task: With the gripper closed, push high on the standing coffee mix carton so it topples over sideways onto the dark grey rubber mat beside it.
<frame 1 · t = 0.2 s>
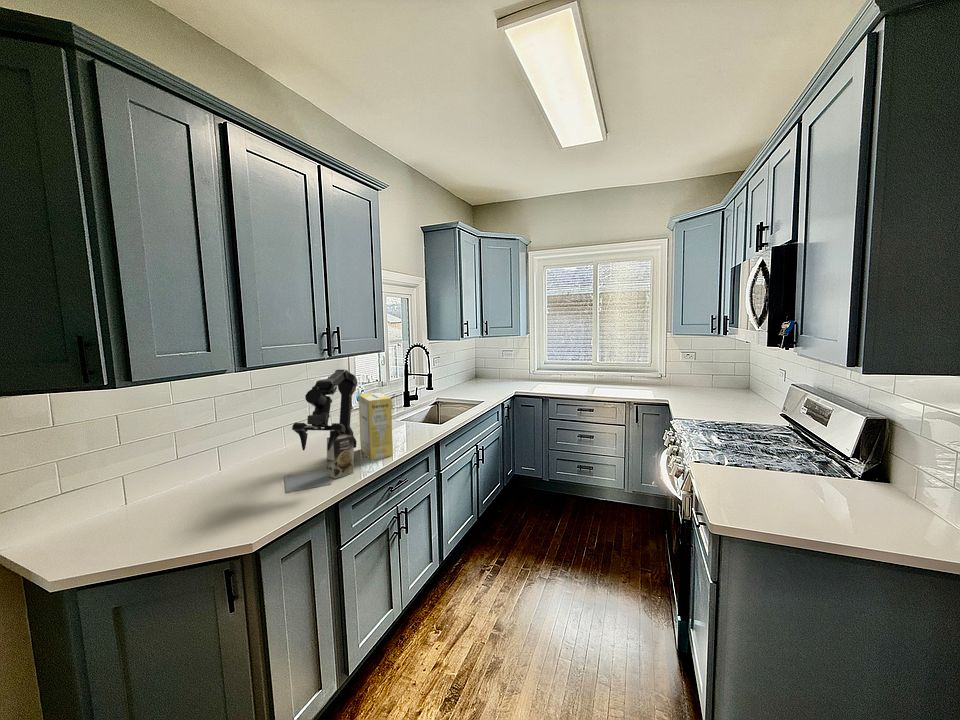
hand: (315, 450, 152), 15 cm above the worktop, tool tilted 30°, fingers open, 9 cm apart
coffee box: (340, 474, 168), on the worktop, touching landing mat
pasta box: (376, 452, 196), on the worktop
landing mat: (307, 480, 162), on the worktop
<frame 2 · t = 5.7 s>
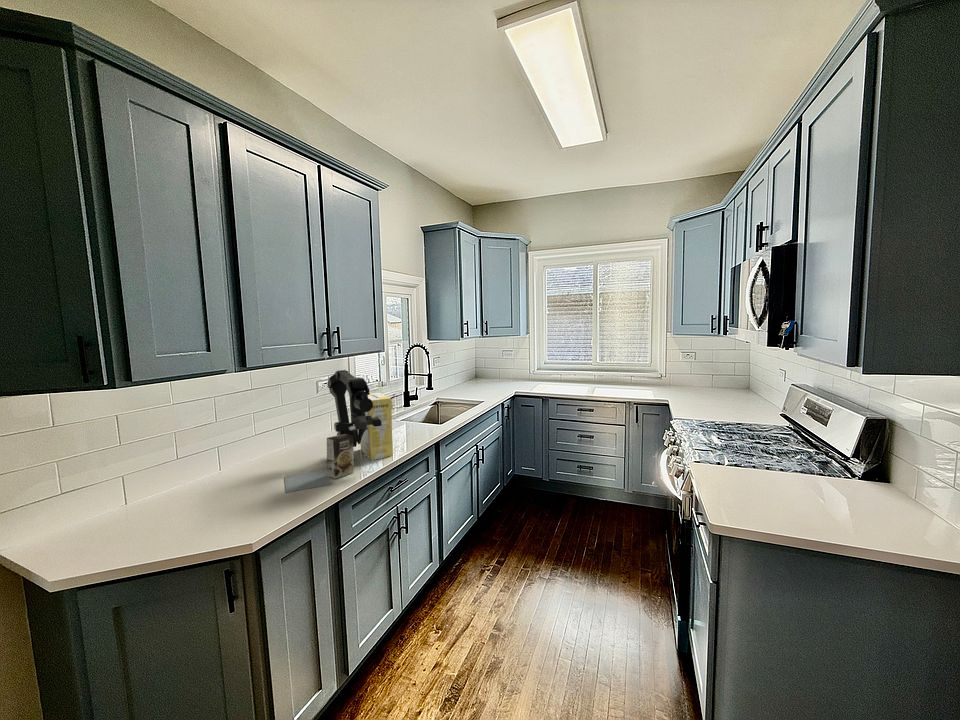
hand: (358, 443, 170), 12 cm above the worktop, tool pointing down, fingers closed
coffee box: (340, 474, 168), on the worktop, touching gripper, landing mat
everything else where it was.
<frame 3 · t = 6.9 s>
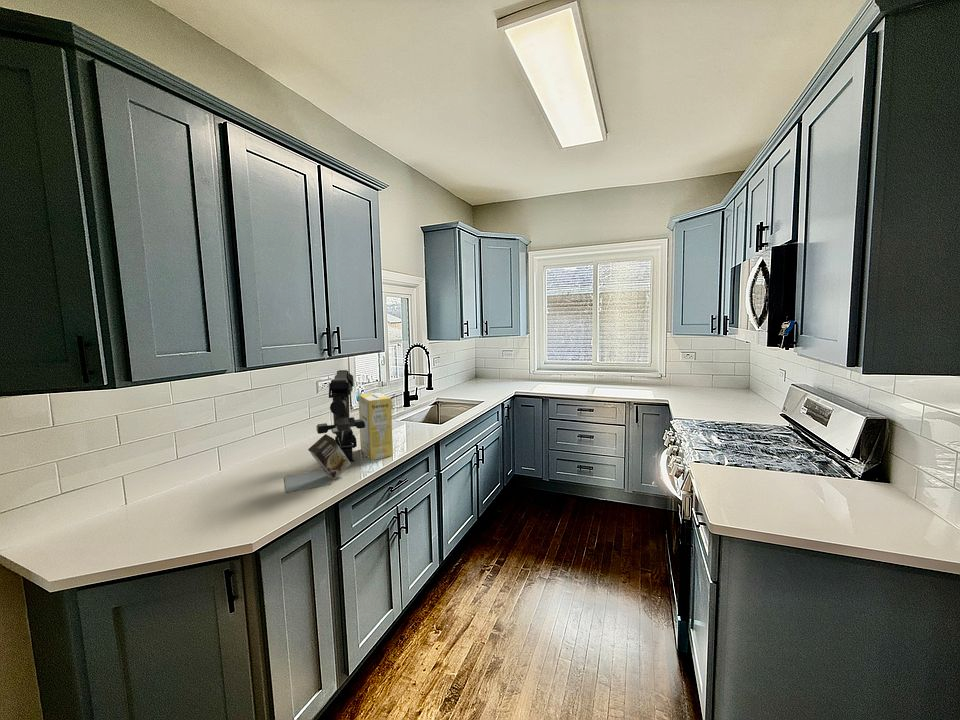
hand: (342, 446, 167), 12 cm above the worktop, tool pointing down, fingers closed
coffee box: (339, 469, 166), point 3 cm above the worktop
everything else where it was.
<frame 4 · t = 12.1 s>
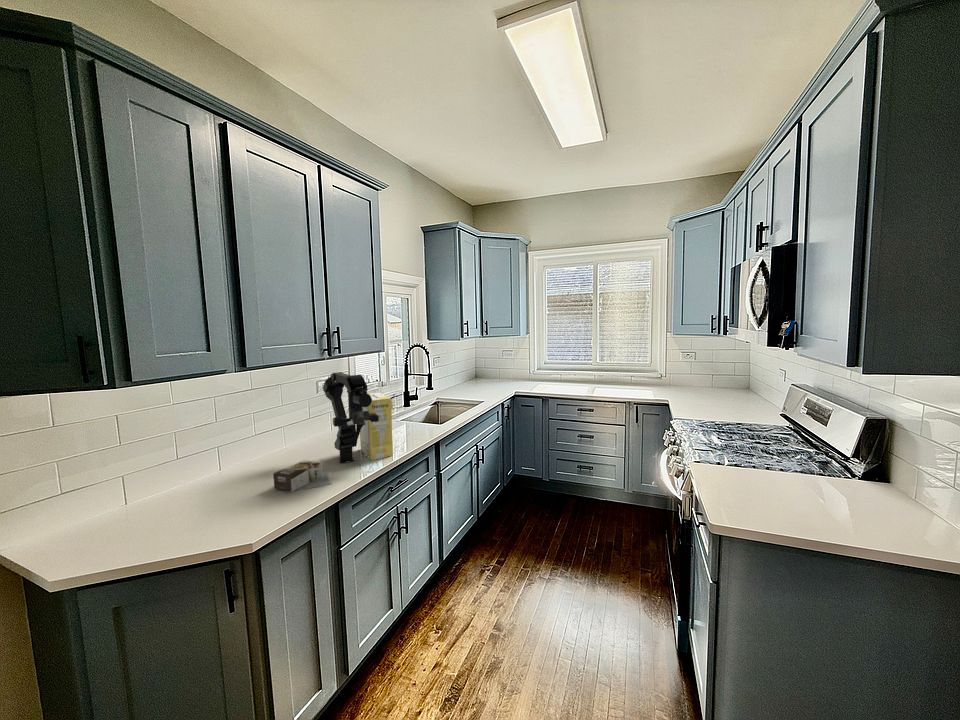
hand: (356, 438, 174), 13 cm above the worktop, tool pointing down, fingers closed
coffee box: (313, 467, 166), point 4 cm above the worktop, touching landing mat
everything else where it was.
at the end: coffee box tilted 90°; coffee box inside the target area (4.6 cm from its centre), point 3.5 cm above the worktop; the gripper is holding nothing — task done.
